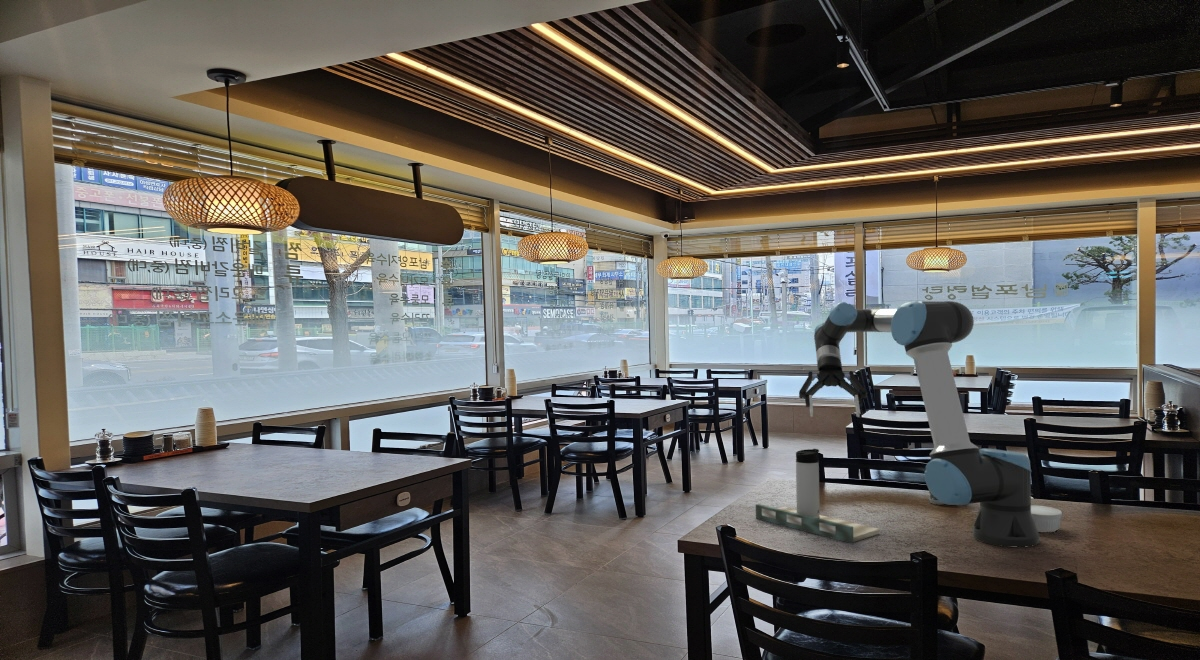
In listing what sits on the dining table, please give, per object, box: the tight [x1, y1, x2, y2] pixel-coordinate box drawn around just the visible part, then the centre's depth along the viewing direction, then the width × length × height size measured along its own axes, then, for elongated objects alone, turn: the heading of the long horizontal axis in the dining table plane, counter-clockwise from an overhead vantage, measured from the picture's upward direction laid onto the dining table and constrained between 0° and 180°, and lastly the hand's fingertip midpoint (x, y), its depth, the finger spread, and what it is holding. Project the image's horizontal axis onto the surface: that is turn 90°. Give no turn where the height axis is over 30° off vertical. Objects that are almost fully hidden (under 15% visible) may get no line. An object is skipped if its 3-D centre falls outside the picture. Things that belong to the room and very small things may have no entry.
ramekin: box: [1031, 504, 1063, 532], centre depth 201 cm, size 11×11×5 cm
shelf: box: [755, 503, 881, 543], centre depth 207 cm, size 32×13×4 cm, turn 37°
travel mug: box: [795, 448, 821, 519], centre depth 209 cm, size 6×7×20 cm
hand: (834, 414), depth 223 cm, fingers open, 13 cm apart
